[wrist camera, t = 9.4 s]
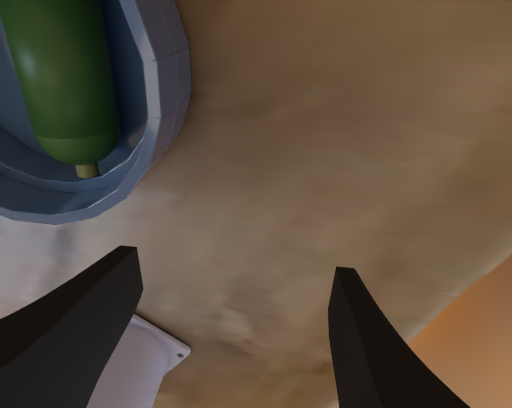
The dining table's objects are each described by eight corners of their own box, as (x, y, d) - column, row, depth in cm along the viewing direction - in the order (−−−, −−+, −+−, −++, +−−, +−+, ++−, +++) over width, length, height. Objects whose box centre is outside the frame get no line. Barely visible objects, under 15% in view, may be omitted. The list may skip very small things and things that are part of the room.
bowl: (117, 218, 24) (75, 269, 19) (-97, 75, 20) (-208, 96, 16) (248, 39, 18) (231, 53, 13) (-29, -211, 14) (-182, -309, 10)
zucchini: (104, 154, 22) (141, 174, 20) (34, 173, 19) (67, 199, 17) (66, -51, 17) (110, -56, 14) (-37, -64, 14) (-3, -71, 12)
